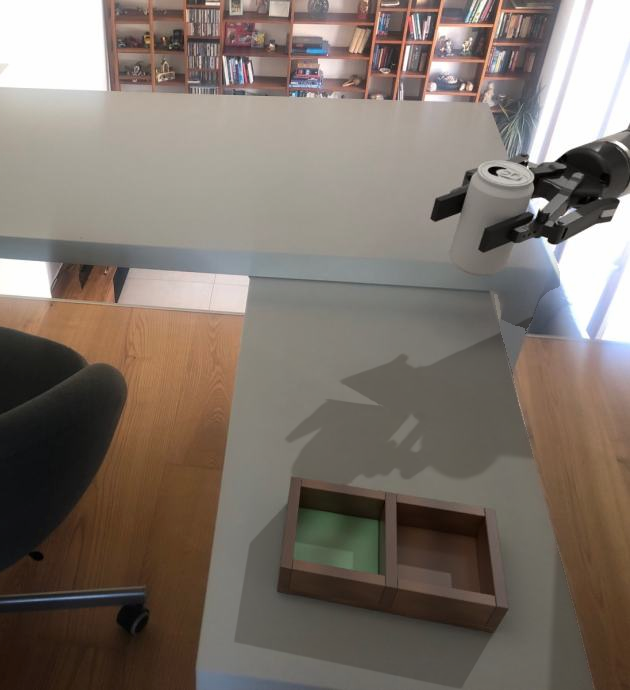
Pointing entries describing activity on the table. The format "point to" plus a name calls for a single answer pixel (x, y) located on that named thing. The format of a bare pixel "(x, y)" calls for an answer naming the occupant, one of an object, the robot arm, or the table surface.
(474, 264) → the beverage can
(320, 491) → the wooden compartment tray
